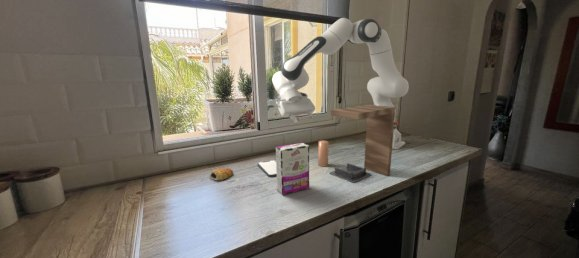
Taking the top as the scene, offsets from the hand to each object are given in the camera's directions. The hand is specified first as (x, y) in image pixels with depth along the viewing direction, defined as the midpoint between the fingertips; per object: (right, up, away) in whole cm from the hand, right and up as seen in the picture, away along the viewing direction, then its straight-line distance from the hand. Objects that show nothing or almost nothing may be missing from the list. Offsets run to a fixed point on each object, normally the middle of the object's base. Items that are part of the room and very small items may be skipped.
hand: (304, 120), depth 123 cm
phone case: (-15, -22, -10) cm, 29 cm away
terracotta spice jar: (+8, -20, -5) cm, 23 cm away
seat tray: (+18, -23, -16) cm, 33 cm away
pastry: (-35, -24, -18) cm, 46 cm away
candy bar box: (-6, -26, -30) cm, 40 cm away
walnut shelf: (+21, -23, -20) cm, 37 cm away
